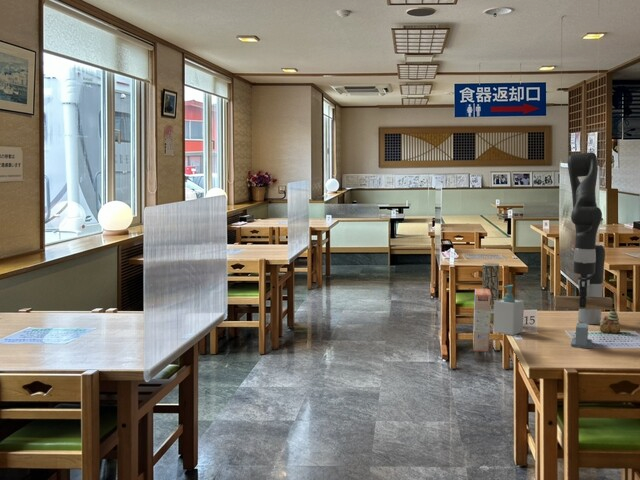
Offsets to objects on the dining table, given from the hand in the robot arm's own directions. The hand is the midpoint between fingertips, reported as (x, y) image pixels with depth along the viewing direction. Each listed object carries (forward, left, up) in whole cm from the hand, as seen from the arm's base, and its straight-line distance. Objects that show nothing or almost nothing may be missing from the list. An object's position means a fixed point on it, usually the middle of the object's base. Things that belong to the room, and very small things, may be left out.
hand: (582, 305), depth 265 cm
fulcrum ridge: (0, 0, -15) cm, 15 cm away
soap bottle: (-10, -28, -15) cm, 33 cm away
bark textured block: (-28, -38, -15) cm, 49 cm away
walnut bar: (0, 0, -1) cm, 1 cm away
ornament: (-26, +10, -15) cm, 32 cm away
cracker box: (+19, -34, -15) cm, 42 cm away
